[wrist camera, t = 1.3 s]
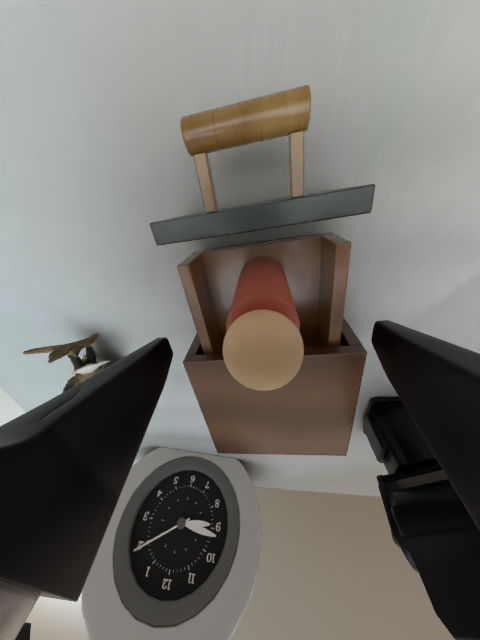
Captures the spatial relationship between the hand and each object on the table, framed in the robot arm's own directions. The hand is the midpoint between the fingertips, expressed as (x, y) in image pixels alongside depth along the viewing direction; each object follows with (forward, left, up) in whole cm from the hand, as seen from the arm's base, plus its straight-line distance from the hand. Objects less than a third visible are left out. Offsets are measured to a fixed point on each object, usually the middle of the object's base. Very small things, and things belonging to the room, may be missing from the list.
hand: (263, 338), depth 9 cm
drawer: (0, -1, -9) cm, 9 cm away
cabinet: (0, +10, -10) cm, 14 cm away
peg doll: (0, 0, -8) cm, 8 cm away
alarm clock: (+14, +33, -10) cm, 37 cm away
